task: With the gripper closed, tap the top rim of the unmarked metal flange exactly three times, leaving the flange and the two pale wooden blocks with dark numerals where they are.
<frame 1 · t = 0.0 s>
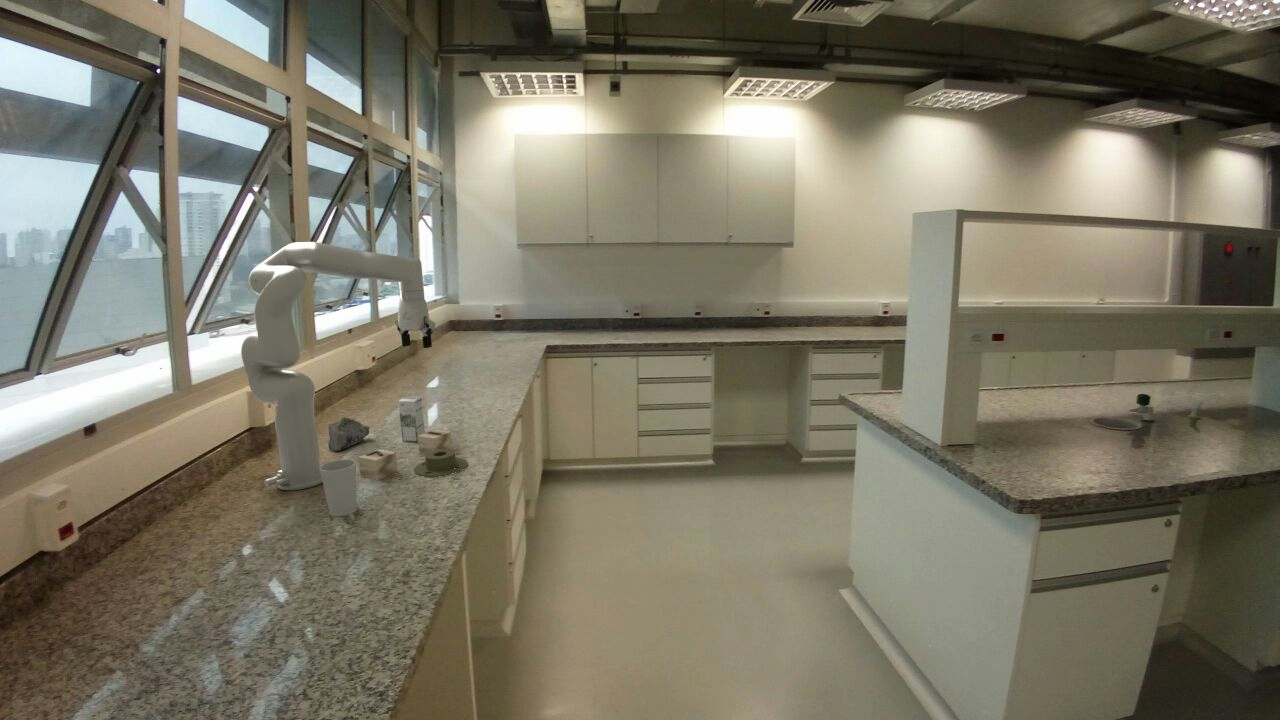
hand: (417, 346, 199), 31 cm above the counter, tool pointing down, fingers open, 9 cm apart
numeral block one: (436, 451, 188), on the counter
syrup box: (414, 439, 200), on the counter
numeral block seven: (379, 474, 170), on the counter
cup: (343, 511, 146), on the counter
flange: (441, 469, 174), on the counter
mineral rock: (350, 446, 195), on the counter
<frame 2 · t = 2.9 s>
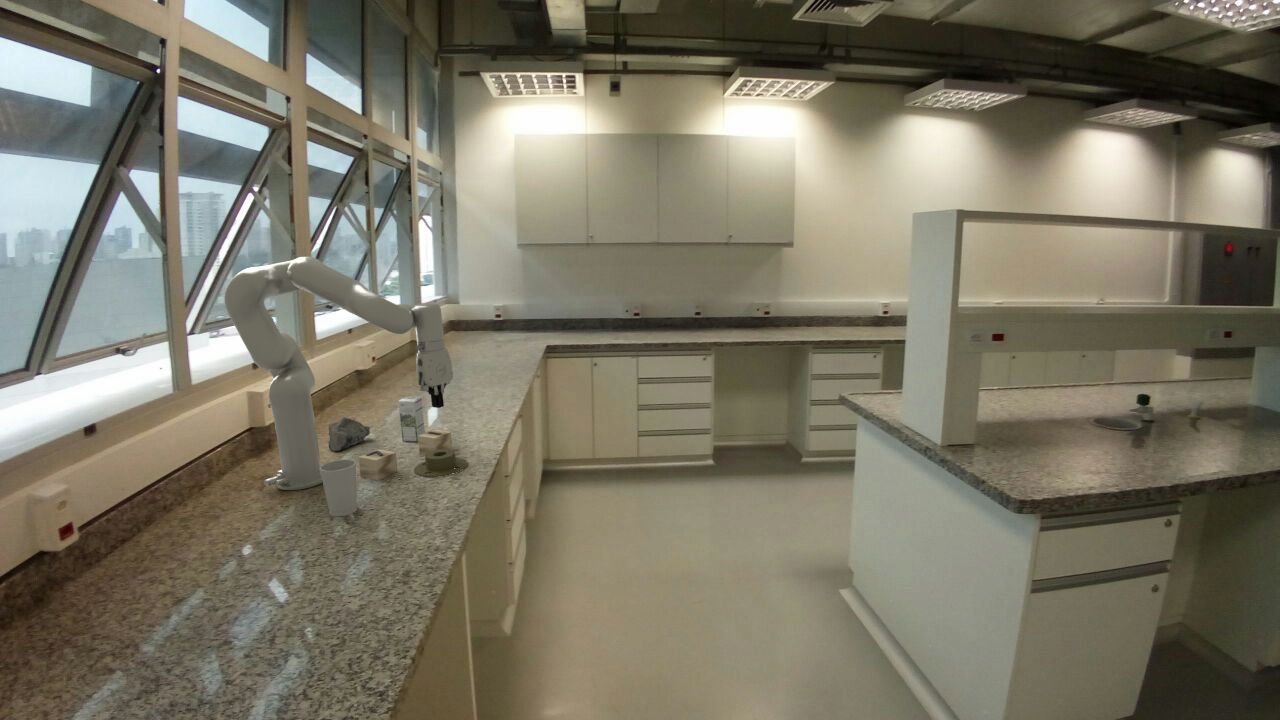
hand: (438, 406, 175), 17 cm above the counter, tool pointing down, fingers closed
nothing on the counter moved.
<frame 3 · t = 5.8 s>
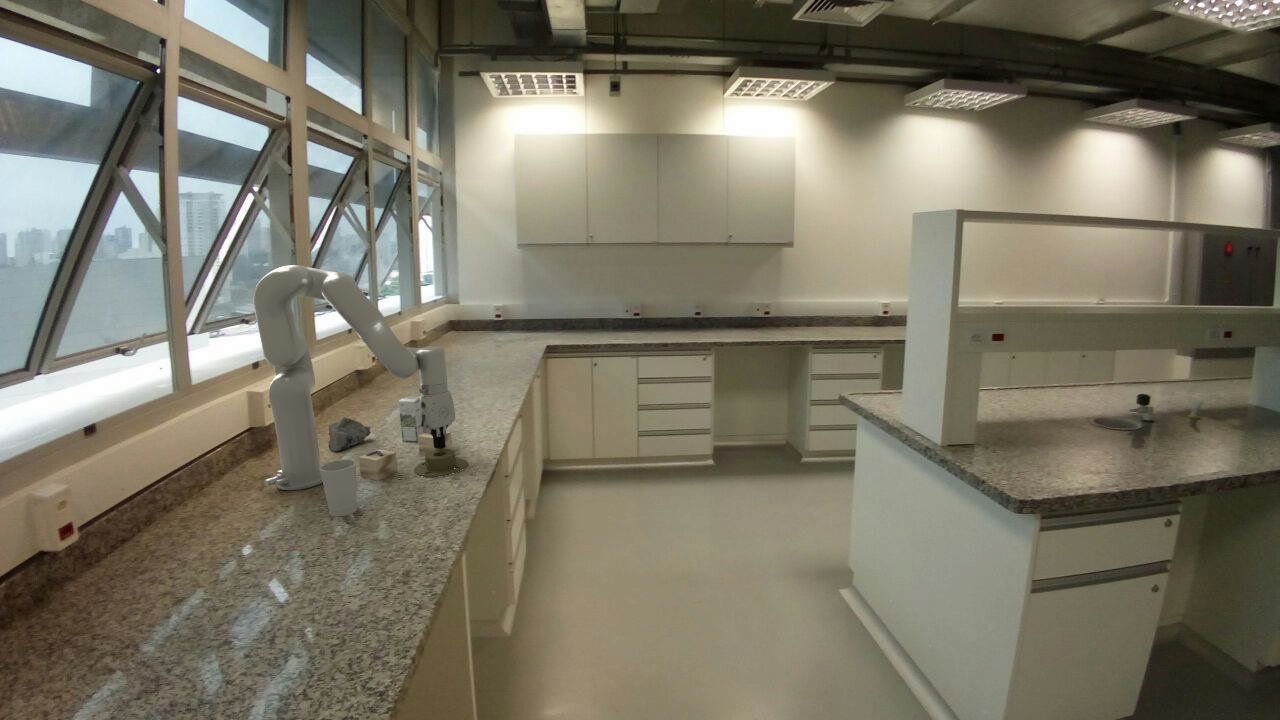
hand: (439, 447, 177), 5 cm above the counter, tool pointing down, fingers closed
nothing on the counter moved.
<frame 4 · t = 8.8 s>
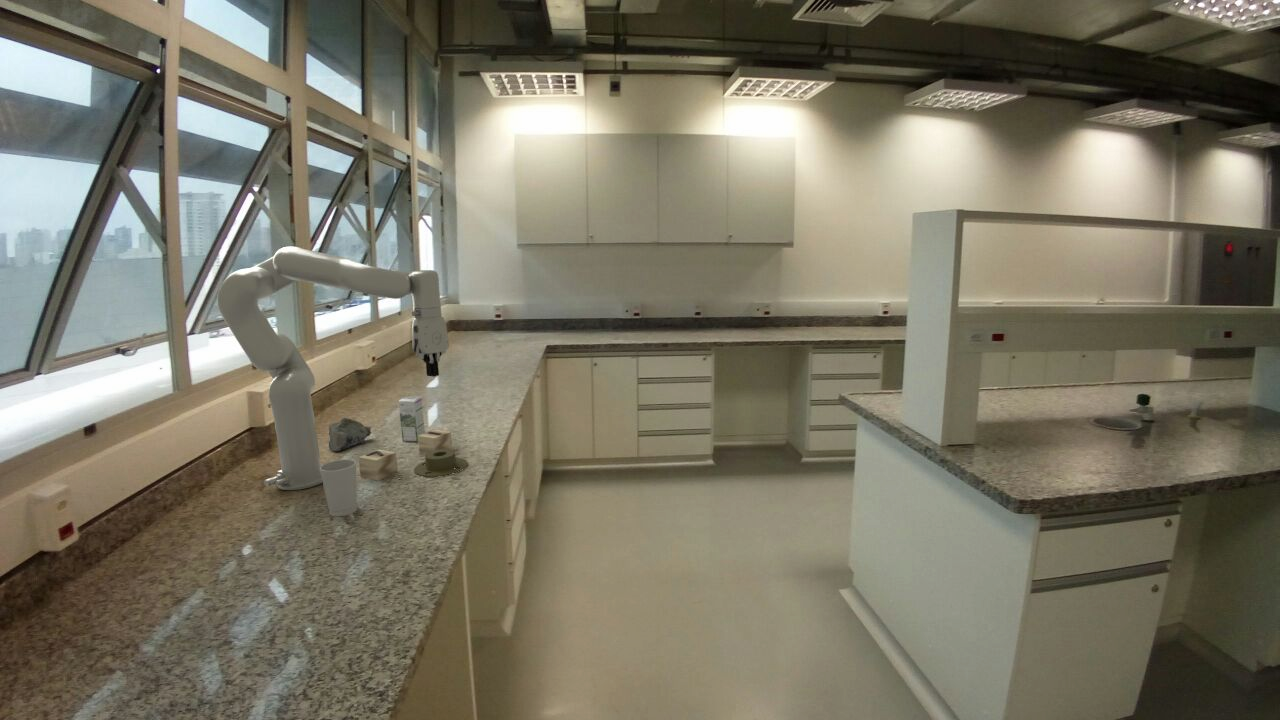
hand: (432, 375, 173), 27 cm above the counter, tool pointing down, fingers closed
nothing on the counter moved.
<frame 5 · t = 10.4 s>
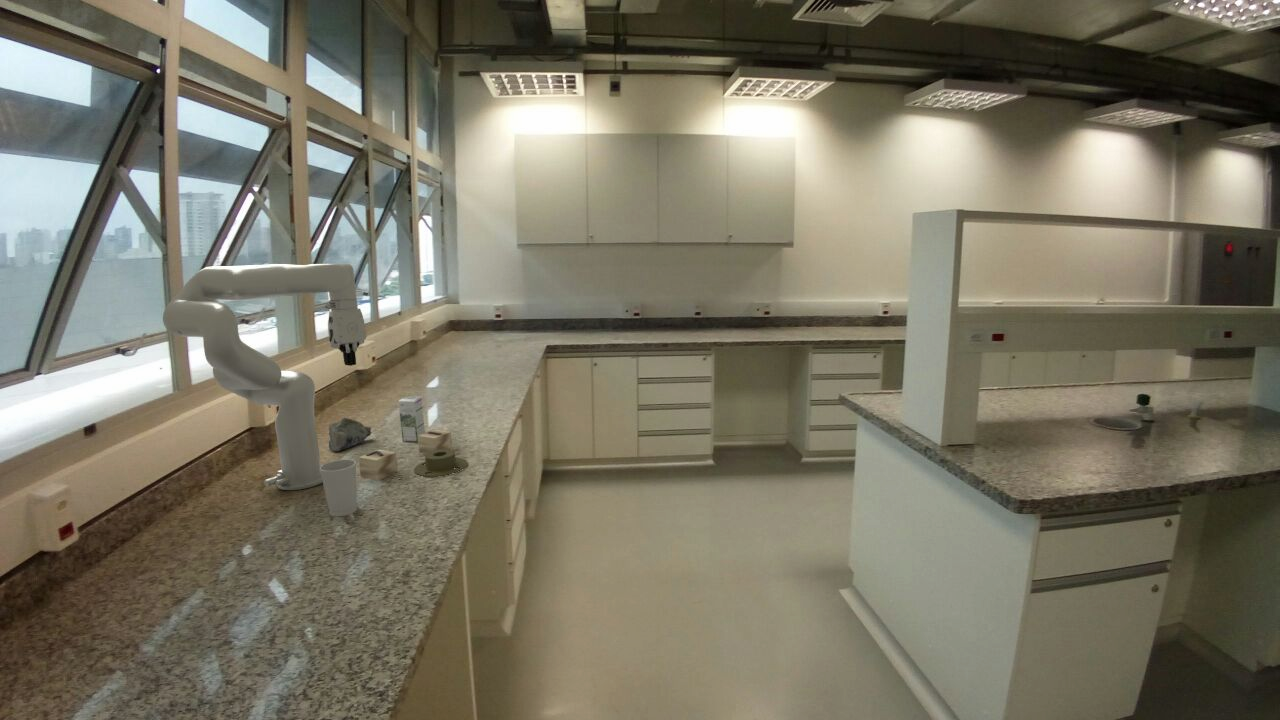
hand: (350, 364, 181), 29 cm above the counter, tool pointing down, fingers closed
nothing on the counter moved.
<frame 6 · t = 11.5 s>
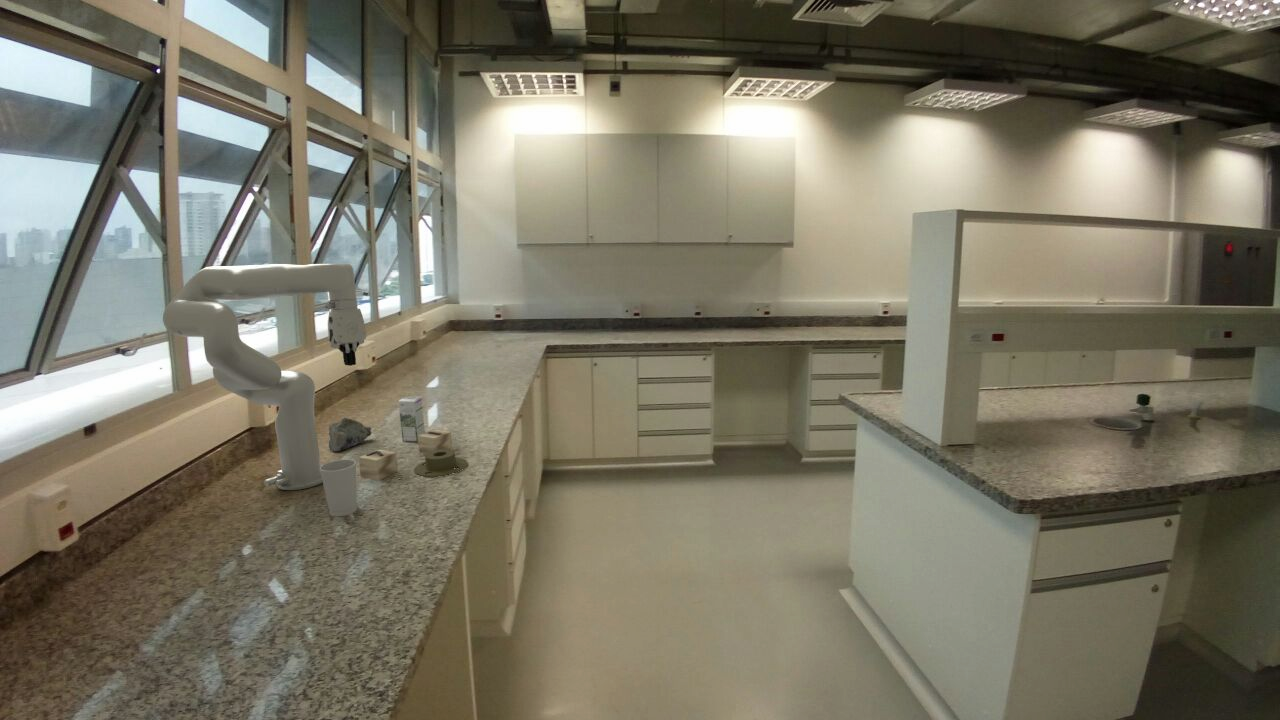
hand: (350, 364, 181), 29 cm above the counter, tool pointing down, fingers closed
nothing on the counter moved.
at the end: flange moved 0.7 cm from its start; numeral block one moved 0.2 cm from its start; numeral block seven moved 0.2 cm from its start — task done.
